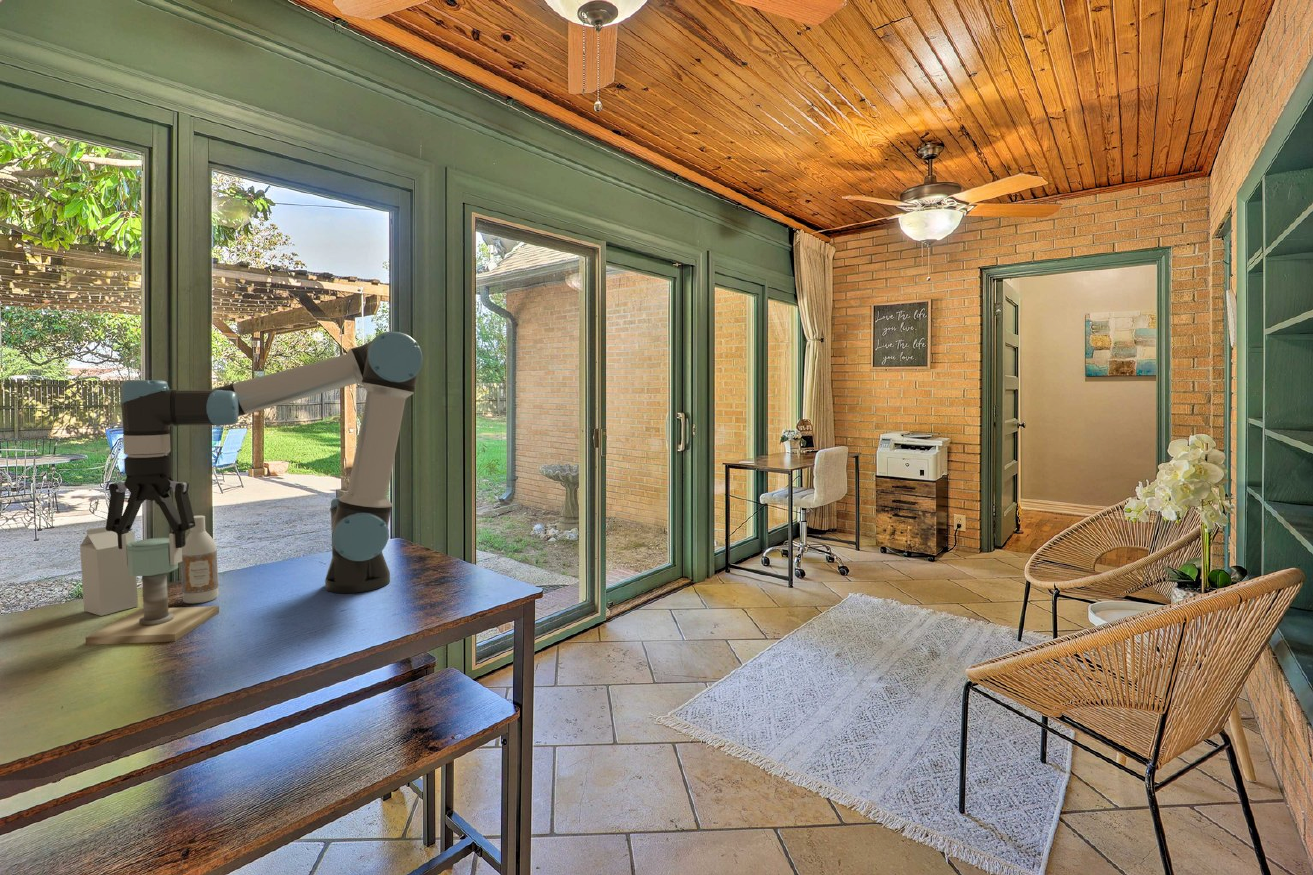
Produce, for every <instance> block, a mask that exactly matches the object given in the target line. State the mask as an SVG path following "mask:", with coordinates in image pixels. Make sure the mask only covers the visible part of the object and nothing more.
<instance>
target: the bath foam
mask: <svg viewBox="0 0 1313 875" xmlns="http://www.w3.org/2000/svg"><path fill="white" fill-rule="evenodd" d="M193 516H194V520H195V527H193V528H191V529H189V534H188V535H187V536H186V537H185V540H186V544H185V546H184V547H182V562H180V571H181V573H180V574H181V589H182V591H181V592H182V600H183V602H184V603H186V604H193V605H194V604H201V603H208V602H210V601H213V600H216V599H217V598H218V597H219V591H220V590H219V568H218V566H219V565H218V550H217V544H216V542H215V540H214V539H213V537H212V536H211V535H210V534H209V533H208V532H207V530H206V516H205V515H193Z"/></svg>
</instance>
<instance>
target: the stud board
mask: <svg viewBox="0 0 1313 875" xmlns="http://www.w3.org/2000/svg"><path fill="white" fill-rule="evenodd" d="M167 577H168V576H167V573H163V574H157V575H152V576H141V581H142V583H141V584H142V586H141V587H142V601H143V608H139V609H137V610H135V611H134V612H131V613H130V614H127V615H126V616H124V617H122V618H120V619H118V620H116V621H114V622H113V623H110V624H109V625H106V626H105V627H104V626H103V628H101V629H99V630H97V631H95V632H92V633H91V634H89V635H86V636H85V637H84V639H85V645H86V646H89V645H90V646H91V645H92V646H93V645H95V646H96V645H115V644H136V643H137V644H138V643H139V644H140V643H144V644H145V643H163V642H165V643H167V642H177V641H178V640H179V639H181V638H182V637H184V636H186V635H188V634H189V633H190V632H192V631H194V630H195V629H197V628H198V627H199V626H201V625H203V624H205V623H206V622H207V621H209V620H210V619H212V618H213V617H215V616H216V615H218V614H220V606H219V605H218V606H217V605H216V606H215V605H214V606H213V605H212V606H211V605H210V606H186V607H183V606H182V607H169V602H168V600H169V599H168V594H169V593H168V578H167Z"/></svg>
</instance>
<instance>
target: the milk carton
mask: <svg viewBox="0 0 1313 875" xmlns="http://www.w3.org/2000/svg"><path fill="white" fill-rule="evenodd" d="M79 550H80V552H79V553H80V564H81V567H80V568H81V581H82V582H81V584H82V596H83V598H82V599H83V610H84V612H86V613H90V614H93V615H96V616H100V617H101V616H102V617H103V616H106V615H110V614H114V613H118V612H120V611H121V612H122V611H125V610H126V611H127V610H129V609H132V608H136V607H138V606H139V594H138V593H139V592H138V578H137V577H138V576H132V575H130V574H128V566H123V553H122V549H119V547H118V535H117V533H116V532H113V531H107V530H106V526H103V527H96V528H90V529H86V535H85V537H84V539H83V540H82V542H81V544H80V545H79Z"/></svg>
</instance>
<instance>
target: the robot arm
mask: <svg viewBox="0 0 1313 875" xmlns="http://www.w3.org/2000/svg"><path fill="white" fill-rule="evenodd" d="M423 357H424V356H423V353H422V349H421V347H420V346H419V344H418V342H417V341H416V340H415V339H414V337H413V338H412V337H411V336H410V335H408V334H407V333H403V332H400V331H395V330H393V331H392V330H391V331H385V332H381V333H380V334H378V335H376V336H375V337H374V338H373V339H372V340H371V341H368V342H367V343H365V344H361V345H359V346H356V347H352V348H349V349H348V350H347V353H345V354H342V355H338V356H334V357H329V358H327V359H322V360H319V361H316V362H311V363H308V364H304V365H303V364H302V365H300V366H295V367H291V368H288V369H284V370H280V371H277V372H273V373H270V374H265V375H261V376H258V377H254V378H250V379H246V380H243V381H239V382H235V383H231V384H227V385H223V386H219V387H215V388H211V389H195V390H194V389H189V390H187V389H186V390H184V389H183V390H180V389H179V390H178V389H170V387H169V385H168V382H167V381H165V380H162V379H161V380H155V379H152V380H151V379H150V380H148V379H144V380H143V379H141V380H140V379H127V380H125V381H123V382H122V383H121V394H120V395H121V396H120V398H121V399H120V400H121V401H120V406H121V408H120V409H121V419H122V420H121V421H122V430H123V431H122V434H123V435H122V444H123V454H124V455H127V456H126V457H125V458H124V459H123V460H124V461H123V462H124V474H125V475H126V477H125V478H126V479H125V480H124V482H123V481H118V482H113V483H109V484H108V489H109V490H108V491H109V494H110V497H109V504H108V509H107V517H106V524H105V527H106V530H107V531H113V532H116V533H117V535H118V547H119V549H122V553H123V566H128V558H127V544H129V543H132V542H135V541H136V534H135V533H136V532H135V531H132V530H133V528H132V526H133V524H134V522H135V520H136V517H137V515H138V513H139V510H140V508H141V506H142V505H143V503H144V502H145V501H146V500H147V501H151V502H153V501H154V502H155V504H156V505H158V506H159V508H160V510H161V512H162V513H163V516H164V517H165V519H166V521H167V523H168V524H169V527H170V528H171V530H172V531H171V533H168V538H169V545H170V565H175V564H177V563H178V564H179V563H181V562H182V547H184V546H185V544H186V540H185V539H186V531H187V530H190V529H191V528H193V527H195V520H194V516H195V515H194V513H193V508H192V505H191V504H192V503H191V501H190V500H191V499H190V497H189V487H190V486H189V485H190V483H189V482H188V481H182V482H181V481H180V482H179V481H175V480H174V479H173V478H172V476H171V475H172V470H173V467H172V457H171V456H170V455H171V454H170V455H169V453H171V450H172V449H171V433H170V432H171V431H170V430H171V429H170V427H171V426H173V427H179V426H186V427H187V426H189V427H190V426H197V427H198V426H199V427H200V426H201V427H203V426H214V427H221V426H234V425H235V424H237V423H238V421H239V417H241V416H244V415H249V414H251V413H255V412H259V411H262V410H266V409H269V408H273V407H277V406H280V405H284V404H287V403H290V402H294V401H299V400H302V399H305V398H309V397H313V396H316V395H320V394H323V393H327V392H331V391H334V390H337V389H342V388H346V387H348V386H353V385H355V384H357V385H360V386H363V388H364V389H365V390H366V396H365V401H364V406H363V412H362V416H361V417H362V418H361V421H360V426H359V427H360V428H359V431H358V438H357V441H356V447H355V453H354V458H353V463H352V468H351V474H350V477H349V478H350V479H349V481H348V482H349V483H348V488H347V492H346V493H344V494H343V495H342V496H339V497H334V498H333V499H332V500H331V502H330V508H329V511H330V522H331V523H330V524H331V554H332V555H331V561H330V564H329V567H328V569H327V572H326V576H325V579H324V583H325V585H324V586H325V590H326V591H328V592H331V593H336V594H354V593H355V594H357V593H362V592H363V593H364V592H370V591H373V590H377V589H380V588H383V587H386V586H387V585H388V584H389V583H390V582H391V572H390V569H389V566H388V563H387V562H386V558H385V556H384V554H383V550H384V549H385V548H386V546H387V544H388V542H389V538H390V530H389V523H390V518H391V512H392V505H393V503H392V502H391V501H390V500H389V499H388V494H389V493H388V491H389V488H390V487H389V486H390V482H391V477H392V472H393V466H394V460H395V456H396V451H397V446H398V440H399V437H400V436H399V435H400V429H401V426H402V420H403V415H404V409H405V404H406V400H407V398H409V397H410V396H413V394H415V387H416V384H417V378H418V374H419V372H420V371H421V369H422V367H423V362H424V358H423ZM171 489H172V490H171ZM127 490H128V491H129V492H130V493H129V494H130V495H129V497H128V498H127V501H126V502H127V504H126V507H125V506H124V504H125V499H126V492H127ZM170 490H171V491H172V492H173V493H174V499H175V504H176V506H175V504H174V502H173V497H172V495H171V494H170V492H169V491H170ZM124 507H125V509H124ZM176 507H177V508H176Z"/></svg>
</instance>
